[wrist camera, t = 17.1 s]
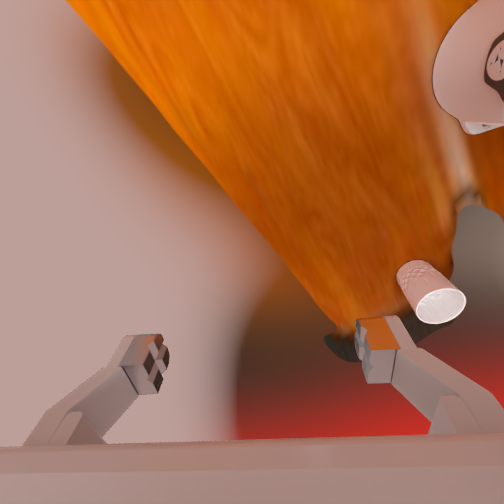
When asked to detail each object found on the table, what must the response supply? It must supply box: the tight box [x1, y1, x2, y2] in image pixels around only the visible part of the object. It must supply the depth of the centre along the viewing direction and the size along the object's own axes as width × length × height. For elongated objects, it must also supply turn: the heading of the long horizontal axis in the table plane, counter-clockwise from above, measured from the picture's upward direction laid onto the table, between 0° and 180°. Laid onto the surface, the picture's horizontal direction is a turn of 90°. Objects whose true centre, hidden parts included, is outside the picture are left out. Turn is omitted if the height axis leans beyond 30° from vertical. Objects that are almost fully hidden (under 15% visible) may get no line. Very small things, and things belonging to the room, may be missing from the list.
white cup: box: [396, 260, 466, 324], centre depth 51 cm, size 8×8×10 cm
